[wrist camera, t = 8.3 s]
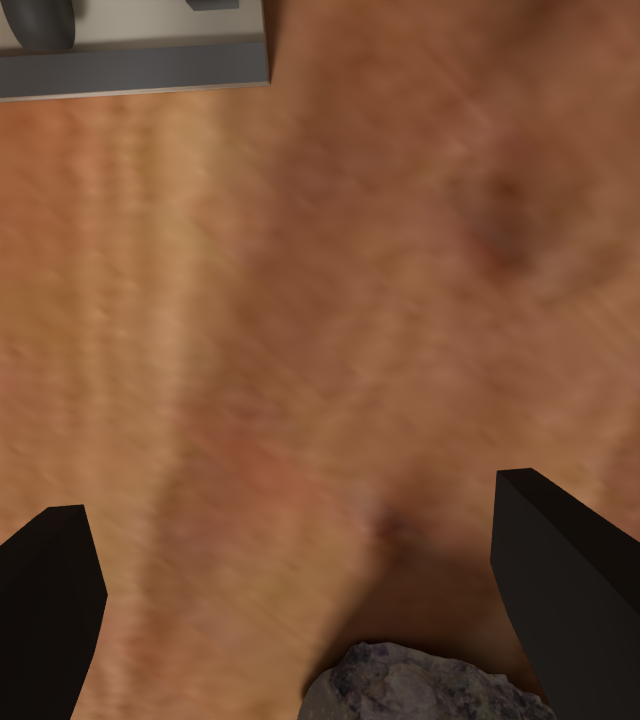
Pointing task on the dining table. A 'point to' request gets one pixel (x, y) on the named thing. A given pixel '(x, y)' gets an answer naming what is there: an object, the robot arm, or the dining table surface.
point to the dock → (142, 50)
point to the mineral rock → (414, 689)
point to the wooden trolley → (41, 23)
